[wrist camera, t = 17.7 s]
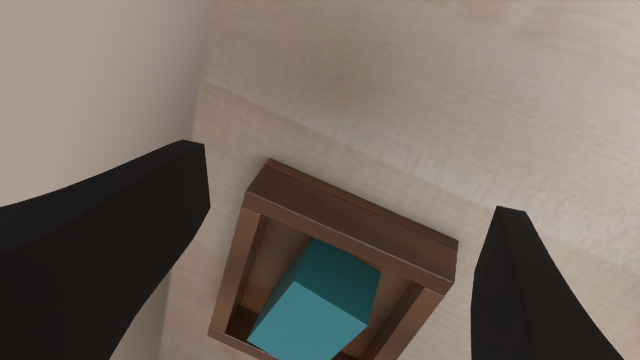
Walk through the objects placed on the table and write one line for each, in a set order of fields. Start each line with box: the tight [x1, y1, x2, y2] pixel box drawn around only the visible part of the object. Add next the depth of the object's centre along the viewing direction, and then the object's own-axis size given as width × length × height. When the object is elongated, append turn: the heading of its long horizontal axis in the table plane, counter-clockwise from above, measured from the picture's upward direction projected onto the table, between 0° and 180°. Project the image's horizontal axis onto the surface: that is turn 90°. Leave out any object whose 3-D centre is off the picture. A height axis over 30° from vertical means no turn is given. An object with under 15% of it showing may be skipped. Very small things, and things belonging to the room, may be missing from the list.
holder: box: [207, 159, 458, 360], centre depth 26 cm, size 12×10×3 cm
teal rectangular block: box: [247, 237, 381, 360], centre depth 25 cm, size 4×6×4 cm, turn 152°
